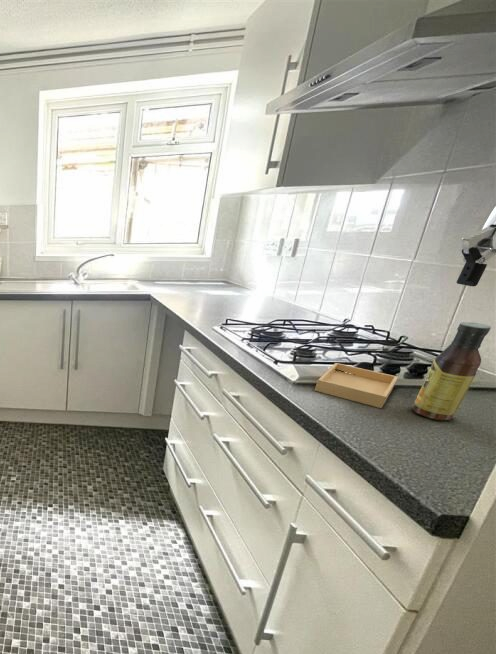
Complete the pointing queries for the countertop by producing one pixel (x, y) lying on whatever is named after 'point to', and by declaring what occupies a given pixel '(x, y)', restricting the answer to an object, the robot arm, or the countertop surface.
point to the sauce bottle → (451, 373)
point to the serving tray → (357, 384)
